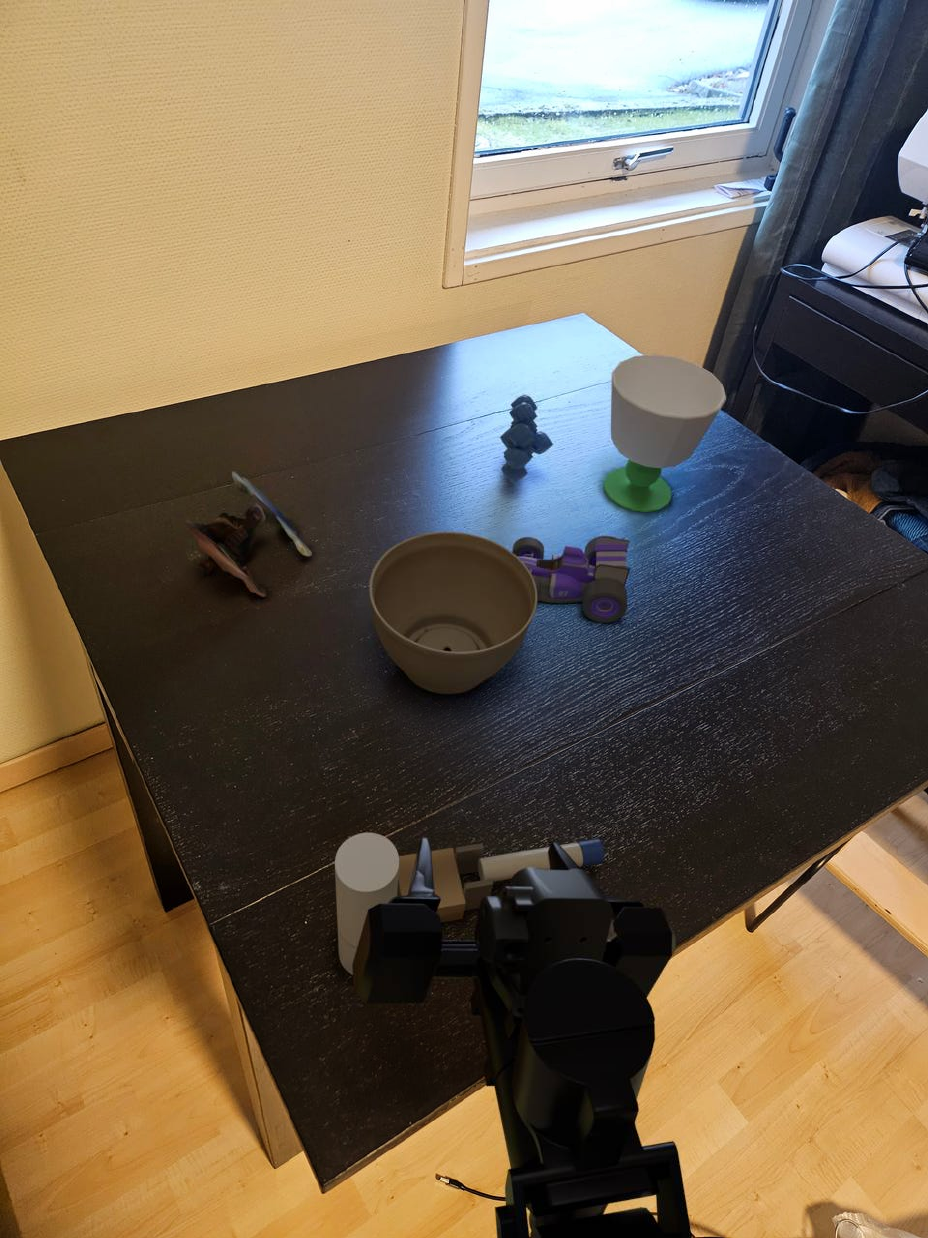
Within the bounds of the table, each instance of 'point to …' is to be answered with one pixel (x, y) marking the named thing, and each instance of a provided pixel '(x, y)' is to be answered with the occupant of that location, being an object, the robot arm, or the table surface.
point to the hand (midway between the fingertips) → (488, 844)
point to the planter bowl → (451, 608)
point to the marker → (538, 859)
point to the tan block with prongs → (450, 880)
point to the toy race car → (581, 575)
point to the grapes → (522, 439)
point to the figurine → (238, 537)
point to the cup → (657, 424)
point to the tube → (362, 886)
